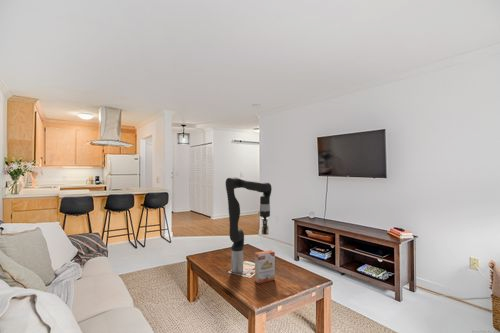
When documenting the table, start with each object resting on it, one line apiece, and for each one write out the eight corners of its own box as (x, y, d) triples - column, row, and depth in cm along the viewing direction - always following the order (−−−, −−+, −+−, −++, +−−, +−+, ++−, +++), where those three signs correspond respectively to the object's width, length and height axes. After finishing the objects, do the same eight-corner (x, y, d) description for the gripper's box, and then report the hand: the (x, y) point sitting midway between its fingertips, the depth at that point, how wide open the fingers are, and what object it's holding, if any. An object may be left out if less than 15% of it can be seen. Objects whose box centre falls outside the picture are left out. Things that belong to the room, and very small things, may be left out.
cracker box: (258, 284, 186) (258, 254, 186) (254, 281, 192) (254, 252, 192) (275, 280, 193) (275, 251, 193) (271, 277, 198) (270, 249, 198)
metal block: (261, 234, 190) (261, 226, 190) (261, 232, 195) (261, 224, 195) (268, 234, 190) (268, 226, 190) (268, 232, 195) (268, 224, 195)
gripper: (259, 208, 199) (259, 230, 200) (259, 211, 185) (259, 235, 185) (269, 208, 199) (269, 230, 199) (270, 211, 185) (270, 235, 185)
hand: (264, 232), depth 192 cm, fingers closed on metal block, 5 cm apart
